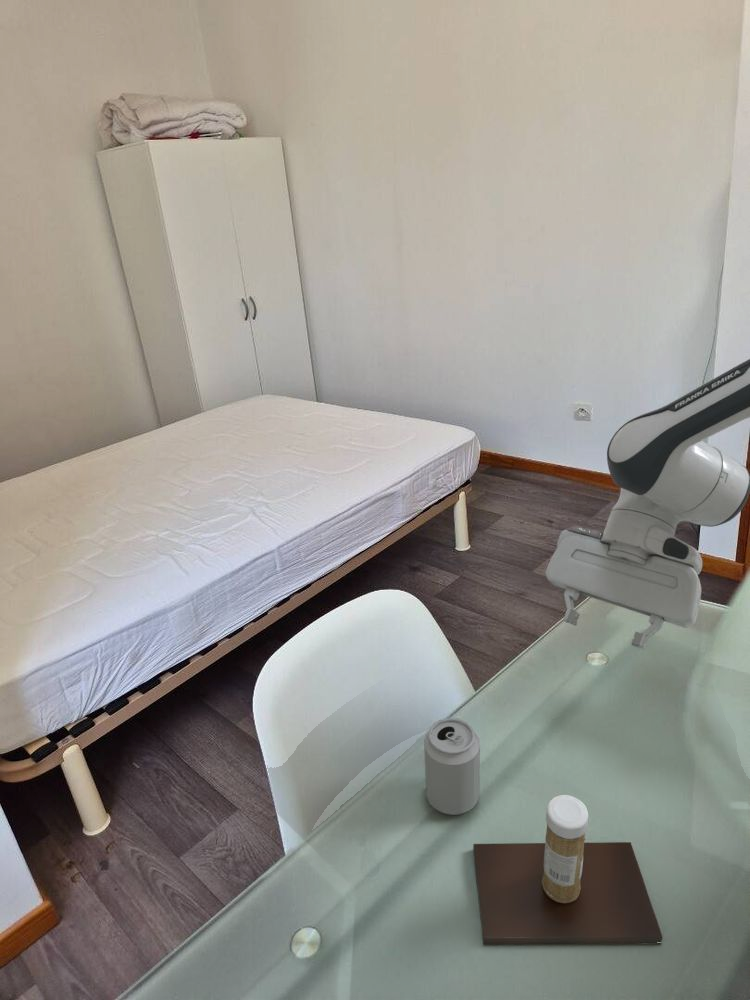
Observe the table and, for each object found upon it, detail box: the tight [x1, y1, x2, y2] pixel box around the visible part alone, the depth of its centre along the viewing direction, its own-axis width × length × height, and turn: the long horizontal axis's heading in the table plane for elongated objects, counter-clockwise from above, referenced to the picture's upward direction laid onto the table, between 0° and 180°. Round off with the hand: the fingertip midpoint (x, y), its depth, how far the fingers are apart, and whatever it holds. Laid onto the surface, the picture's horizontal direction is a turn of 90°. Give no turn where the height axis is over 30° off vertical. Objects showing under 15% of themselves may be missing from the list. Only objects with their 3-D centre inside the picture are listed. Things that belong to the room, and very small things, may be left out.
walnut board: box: [472, 841, 664, 945], centre depth 83 cm, size 20×12×1 cm, turn 88°
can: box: [423, 717, 481, 816], centre depth 94 cm, size 8×8×12 cm
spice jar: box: [542, 794, 589, 903], centre depth 80 cm, size 5×5×14 cm
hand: (602, 635), depth 93 cm, fingers open, 8 cm apart
